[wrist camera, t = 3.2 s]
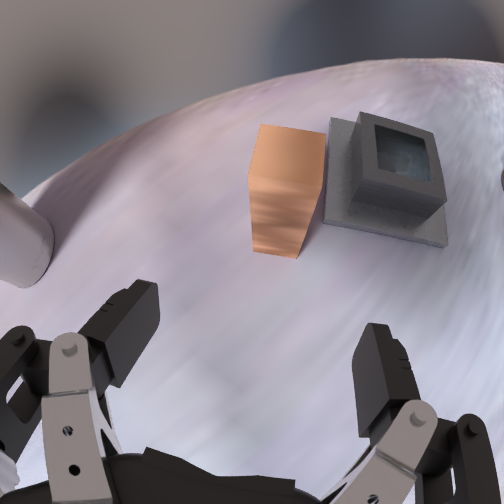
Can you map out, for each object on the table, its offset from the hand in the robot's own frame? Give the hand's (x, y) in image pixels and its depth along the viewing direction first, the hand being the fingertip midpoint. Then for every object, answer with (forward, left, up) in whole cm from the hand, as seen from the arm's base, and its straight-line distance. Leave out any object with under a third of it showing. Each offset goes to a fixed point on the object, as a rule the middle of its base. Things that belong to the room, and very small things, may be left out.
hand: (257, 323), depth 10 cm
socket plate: (+11, +19, -14) cm, 26 cm away
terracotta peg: (0, +10, -14) cm, 17 cm away
